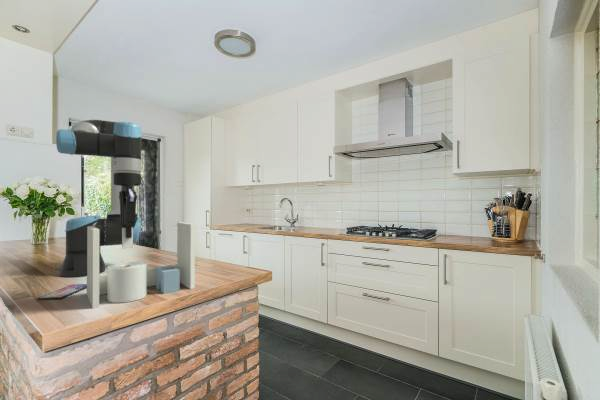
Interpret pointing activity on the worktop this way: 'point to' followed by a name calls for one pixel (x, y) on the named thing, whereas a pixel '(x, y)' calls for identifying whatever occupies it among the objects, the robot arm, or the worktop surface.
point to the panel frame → (184, 264)
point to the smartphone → (63, 292)
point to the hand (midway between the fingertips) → (127, 248)
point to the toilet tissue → (126, 281)
